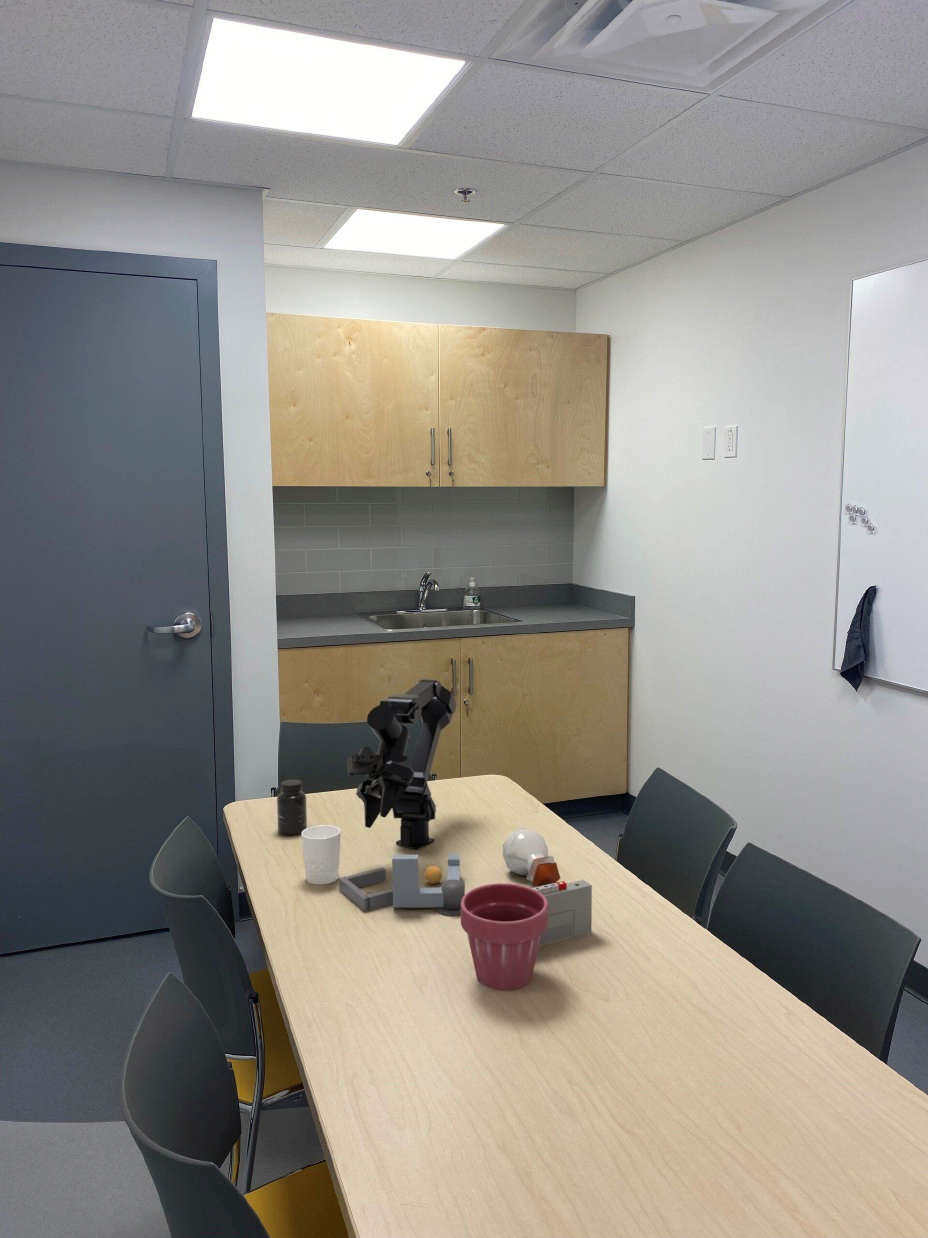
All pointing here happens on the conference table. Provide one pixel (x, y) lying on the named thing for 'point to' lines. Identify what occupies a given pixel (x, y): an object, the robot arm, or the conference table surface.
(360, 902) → the pocket
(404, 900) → the lever
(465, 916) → the plant pot
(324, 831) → the white cup
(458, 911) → the pivot plate
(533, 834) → the potion bottle
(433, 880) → the ball
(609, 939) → the conference table surface
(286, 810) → the supplement bottle
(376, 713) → the robot arm
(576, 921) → the cassette player
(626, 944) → the conference table surface
